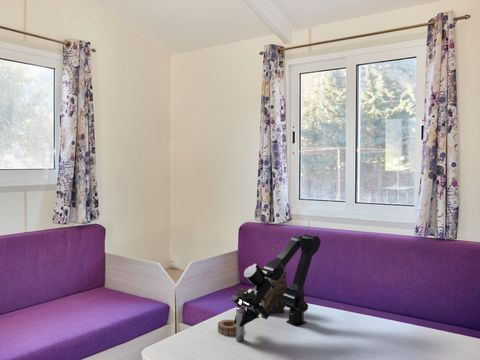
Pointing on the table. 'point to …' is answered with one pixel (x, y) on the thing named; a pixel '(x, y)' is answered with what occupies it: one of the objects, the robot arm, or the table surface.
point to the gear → (227, 327)
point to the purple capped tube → (239, 329)
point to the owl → (276, 296)
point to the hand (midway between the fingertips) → (237, 324)
